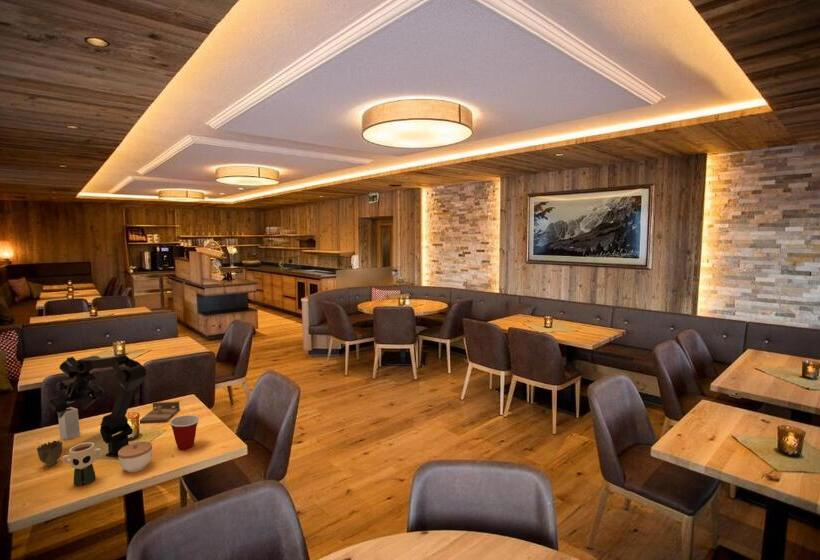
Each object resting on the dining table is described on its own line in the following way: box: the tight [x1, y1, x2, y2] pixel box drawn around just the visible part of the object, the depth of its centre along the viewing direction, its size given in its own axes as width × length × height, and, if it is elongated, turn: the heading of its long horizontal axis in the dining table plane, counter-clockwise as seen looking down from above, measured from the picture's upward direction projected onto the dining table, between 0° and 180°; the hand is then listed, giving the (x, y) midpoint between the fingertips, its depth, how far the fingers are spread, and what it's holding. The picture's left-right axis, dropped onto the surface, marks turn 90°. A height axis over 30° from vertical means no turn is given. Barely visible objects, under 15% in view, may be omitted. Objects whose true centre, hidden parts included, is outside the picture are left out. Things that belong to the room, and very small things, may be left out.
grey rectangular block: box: [57, 406, 81, 441], centre depth 182 cm, size 5×5×12 cm
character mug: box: [62, 441, 103, 486], centre depth 148 cm, size 11×7×13 cm, turn 119°
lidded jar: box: [118, 441, 153, 473], centre depth 157 cm, size 11×11×9 cm
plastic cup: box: [169, 414, 200, 451], centre depth 172 cm, size 11×11×12 cm
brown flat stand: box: [140, 401, 181, 425], centre depth 202 cm, size 14×12×5 cm
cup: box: [36, 440, 63, 468], centre depth 160 cm, size 8×7×8 cm
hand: (71, 413), depth 176 cm, fingers open, 9 cm apart
